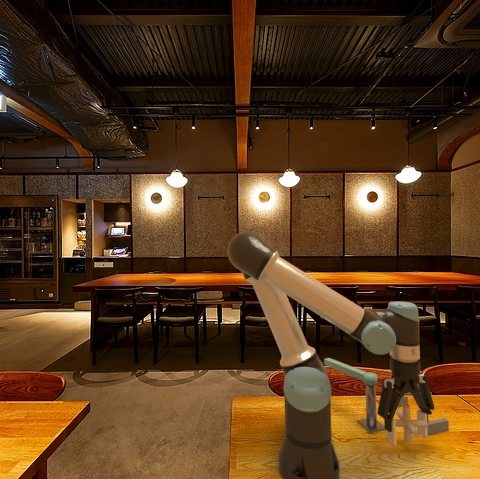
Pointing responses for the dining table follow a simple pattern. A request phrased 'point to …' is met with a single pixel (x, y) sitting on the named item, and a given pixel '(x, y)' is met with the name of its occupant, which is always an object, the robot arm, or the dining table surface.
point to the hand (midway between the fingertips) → (407, 438)
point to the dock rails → (433, 425)
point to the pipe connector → (409, 423)
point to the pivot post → (371, 412)
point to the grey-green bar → (352, 371)
